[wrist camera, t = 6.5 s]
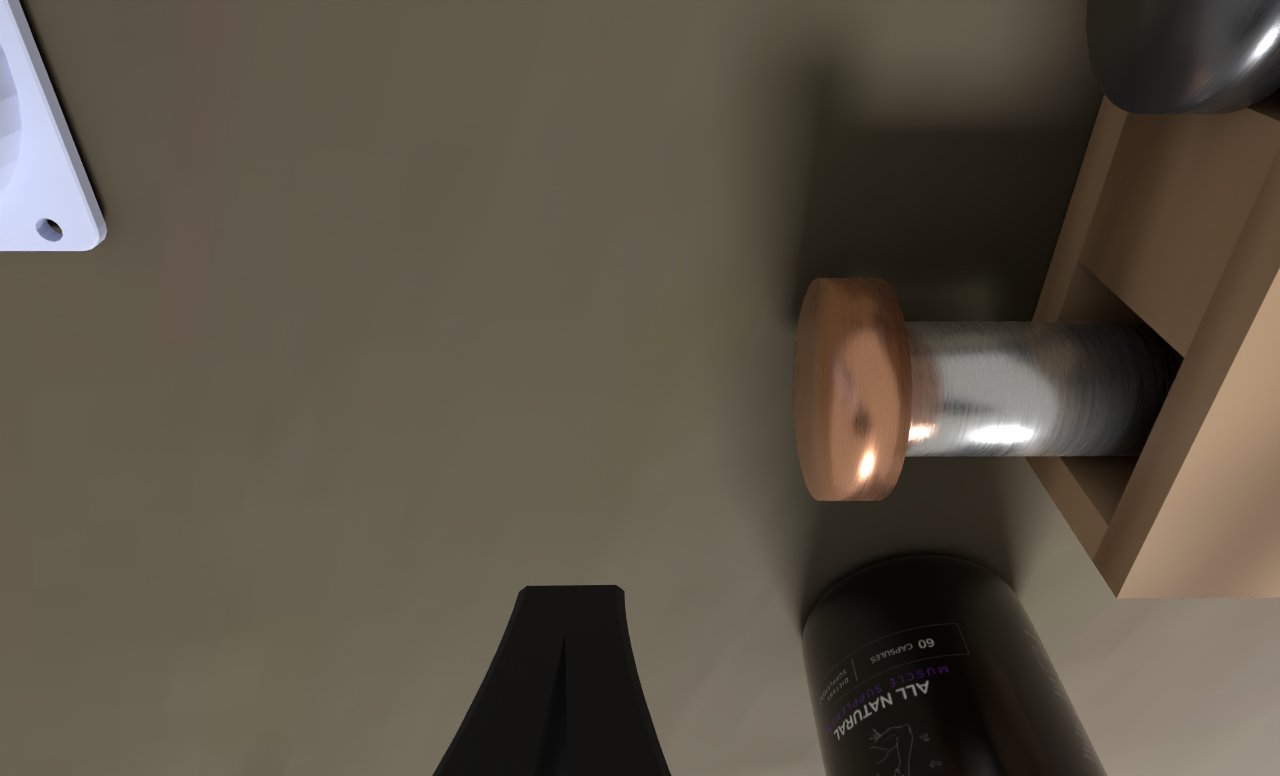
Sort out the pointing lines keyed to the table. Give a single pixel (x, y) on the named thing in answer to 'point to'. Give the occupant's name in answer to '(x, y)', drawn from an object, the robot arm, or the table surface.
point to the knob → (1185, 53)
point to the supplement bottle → (937, 677)
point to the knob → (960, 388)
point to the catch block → (1181, 348)
